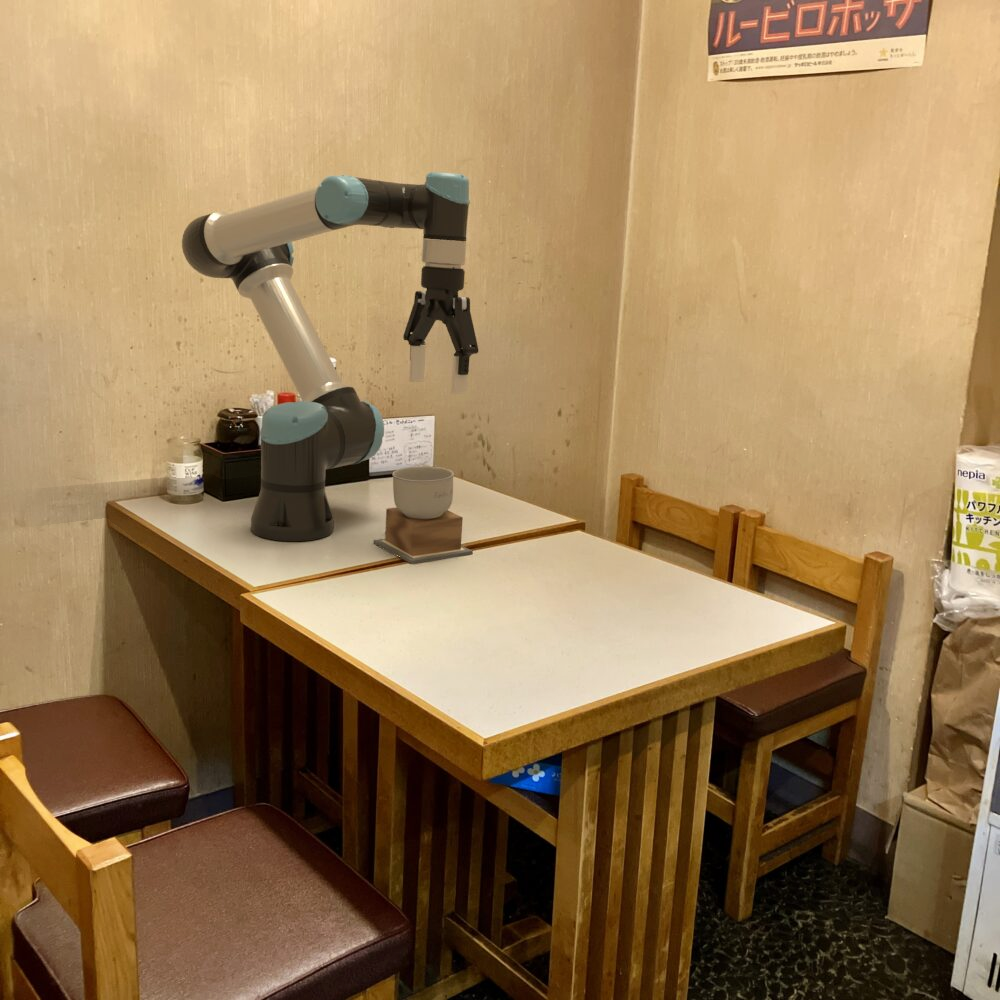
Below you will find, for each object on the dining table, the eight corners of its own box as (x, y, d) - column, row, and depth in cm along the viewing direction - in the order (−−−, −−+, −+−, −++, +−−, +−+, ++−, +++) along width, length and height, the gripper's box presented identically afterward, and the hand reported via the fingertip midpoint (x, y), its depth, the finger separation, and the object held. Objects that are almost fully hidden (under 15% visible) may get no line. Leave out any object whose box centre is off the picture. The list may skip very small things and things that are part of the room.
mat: (373, 543, 182) (373, 539, 182) (432, 534, 190) (432, 531, 190) (411, 564, 172) (411, 560, 172) (472, 554, 180) (472, 550, 180)
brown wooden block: (385, 540, 182) (386, 508, 181) (432, 534, 188) (433, 503, 186) (412, 556, 174) (414, 523, 173) (460, 549, 180) (462, 517, 178)
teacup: (443, 526, 172) (445, 481, 170) (382, 519, 174) (384, 474, 172) (461, 507, 185) (464, 464, 183) (405, 500, 187) (407, 458, 185)
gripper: (504, 271, 167) (495, 397, 172) (422, 262, 186) (417, 376, 191) (467, 269, 162) (459, 399, 167) (387, 260, 181) (383, 377, 186)
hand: (437, 387), depth 179 cm, fingers open, 13 cm apart
